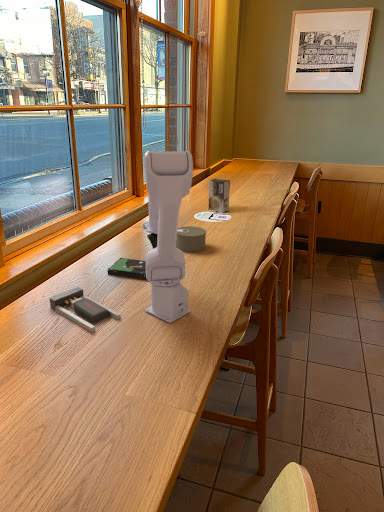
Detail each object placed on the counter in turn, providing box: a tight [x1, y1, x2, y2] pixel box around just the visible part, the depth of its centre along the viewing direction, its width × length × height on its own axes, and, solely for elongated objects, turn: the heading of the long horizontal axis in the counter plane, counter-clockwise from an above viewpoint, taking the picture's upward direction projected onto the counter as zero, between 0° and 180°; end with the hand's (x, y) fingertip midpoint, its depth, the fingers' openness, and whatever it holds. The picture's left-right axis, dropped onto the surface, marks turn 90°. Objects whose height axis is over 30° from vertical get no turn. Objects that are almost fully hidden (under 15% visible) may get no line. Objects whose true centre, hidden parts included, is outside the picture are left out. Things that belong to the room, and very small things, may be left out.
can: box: [176, 226, 207, 254], centre depth 149 cm, size 12×12×7 cm
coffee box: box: [208, 178, 231, 213], centre depth 200 cm, size 9×6×16 cm
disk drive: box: [106, 257, 148, 281], centre depth 128 cm, size 10×3×15 cm
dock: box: [48, 286, 122, 333], centre depth 102 cm, size 18×9×3 cm, turn 50°
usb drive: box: [70, 298, 111, 325], centre depth 103 cm, size 5×12×3 cm, turn 47°
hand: (159, 257), depth 115 cm, fingers closed
